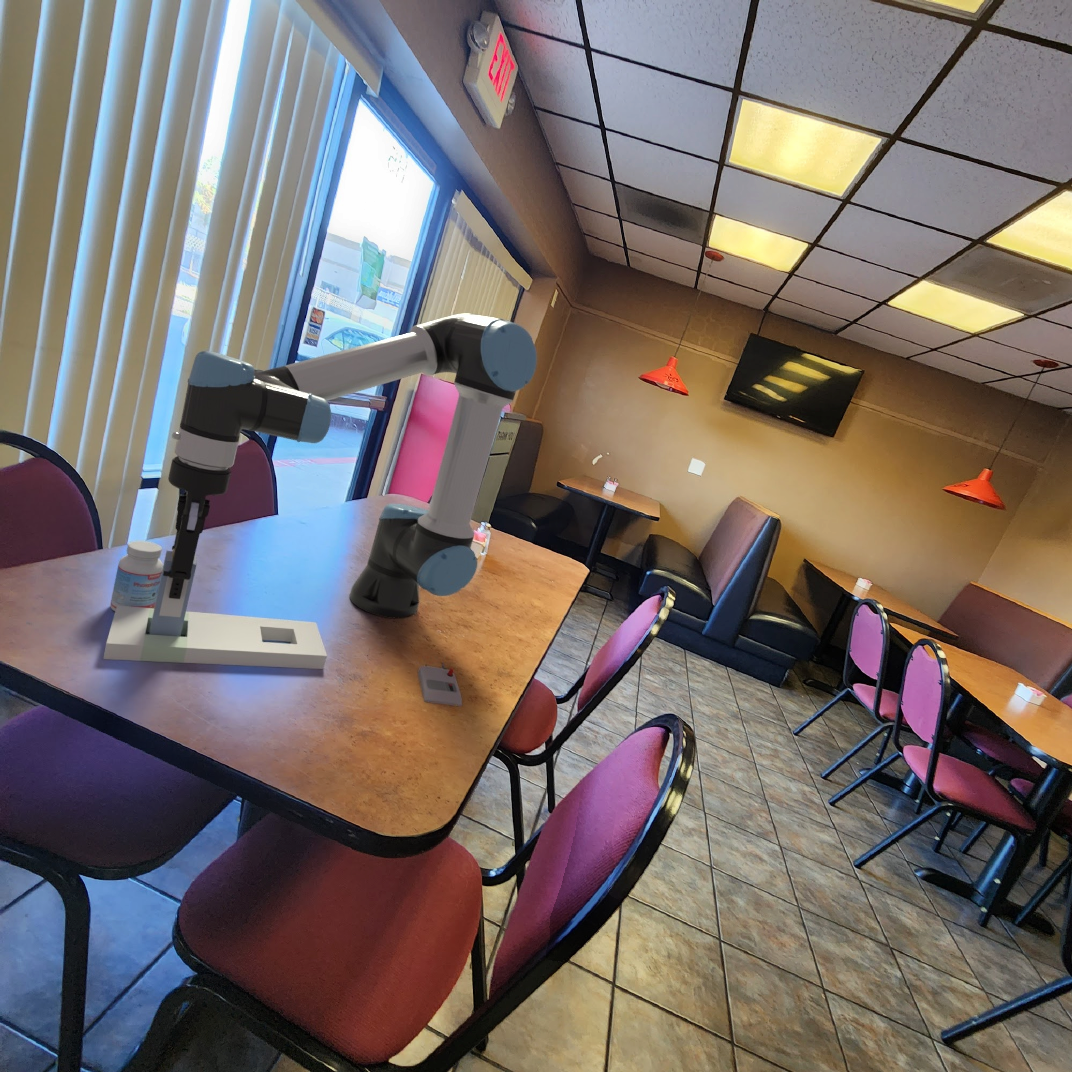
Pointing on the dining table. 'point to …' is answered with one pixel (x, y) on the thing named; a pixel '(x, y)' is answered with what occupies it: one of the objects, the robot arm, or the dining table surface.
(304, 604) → the dining table surface
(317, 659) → the panel
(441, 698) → the remote control
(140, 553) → the pill bottle
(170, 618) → the plug
